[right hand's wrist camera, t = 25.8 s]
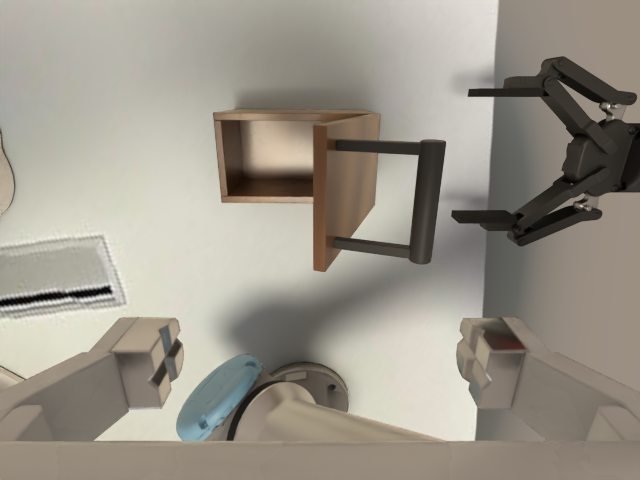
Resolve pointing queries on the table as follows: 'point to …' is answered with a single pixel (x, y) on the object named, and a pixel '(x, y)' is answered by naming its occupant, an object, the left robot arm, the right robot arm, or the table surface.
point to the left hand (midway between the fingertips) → (463, 158)
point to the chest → (269, 153)
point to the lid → (367, 189)
